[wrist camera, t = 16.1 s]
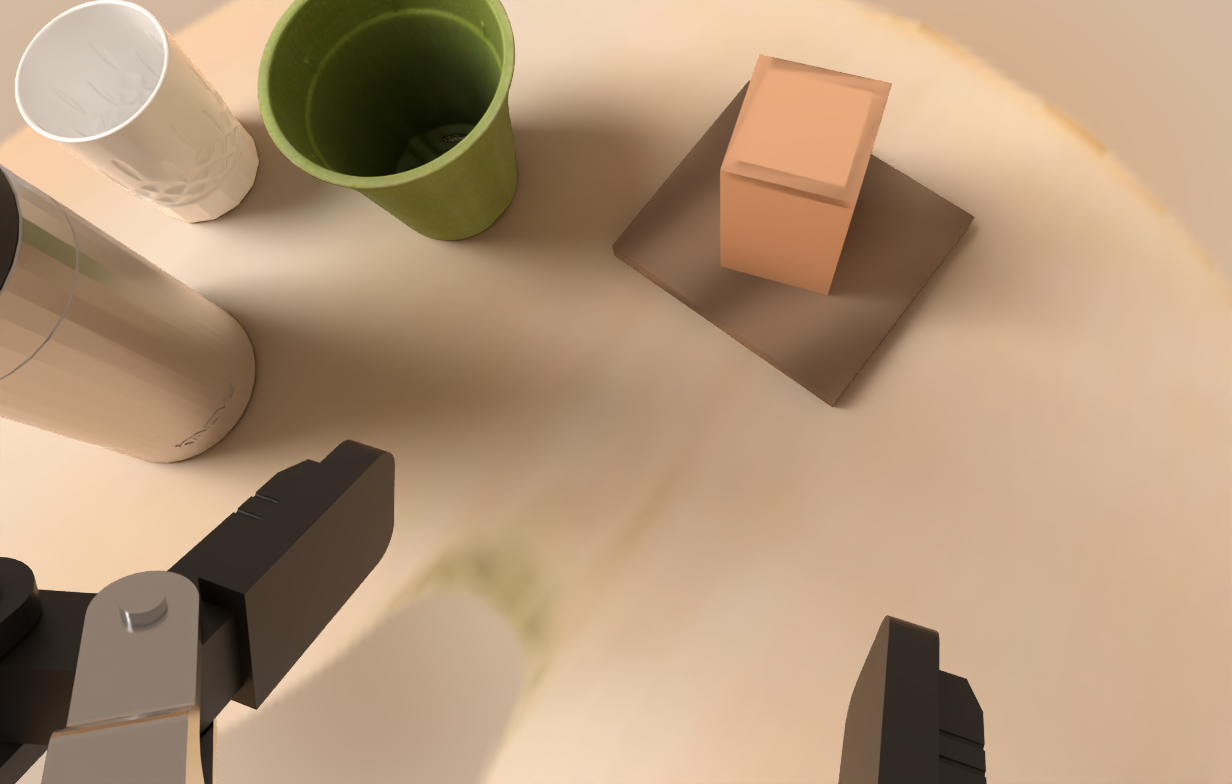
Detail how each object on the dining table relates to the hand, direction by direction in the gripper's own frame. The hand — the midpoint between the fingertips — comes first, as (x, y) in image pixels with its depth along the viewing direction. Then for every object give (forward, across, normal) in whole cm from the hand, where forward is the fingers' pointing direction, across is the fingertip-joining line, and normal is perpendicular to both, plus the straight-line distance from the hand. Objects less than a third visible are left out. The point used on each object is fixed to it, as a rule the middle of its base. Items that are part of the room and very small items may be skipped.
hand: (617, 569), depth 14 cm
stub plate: (+36, +1, +7) cm, 36 cm away
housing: (+35, +1, +6) cm, 35 cm away
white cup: (+32, +34, +11) cm, 48 cm away
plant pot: (+35, +19, +9) cm, 41 cm away
